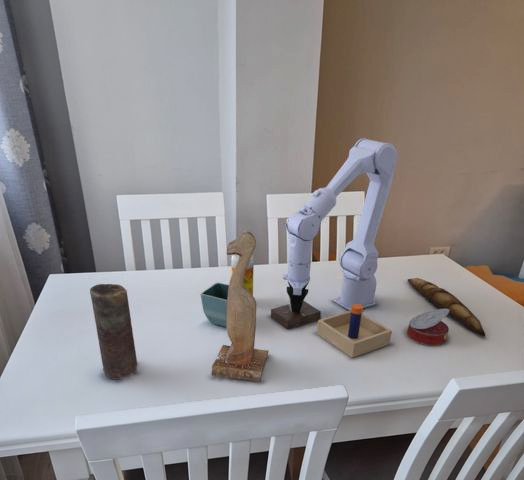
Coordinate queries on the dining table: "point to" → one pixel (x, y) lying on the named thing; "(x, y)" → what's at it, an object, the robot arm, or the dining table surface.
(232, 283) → the bird sculpture
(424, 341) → the canned food
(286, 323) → the block
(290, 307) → the grey dial knob
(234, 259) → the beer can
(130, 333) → the candle
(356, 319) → the marker
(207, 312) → the flower pot
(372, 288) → the robot arm
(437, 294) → the bread
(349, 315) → the open wooden box
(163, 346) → the dining table surface
